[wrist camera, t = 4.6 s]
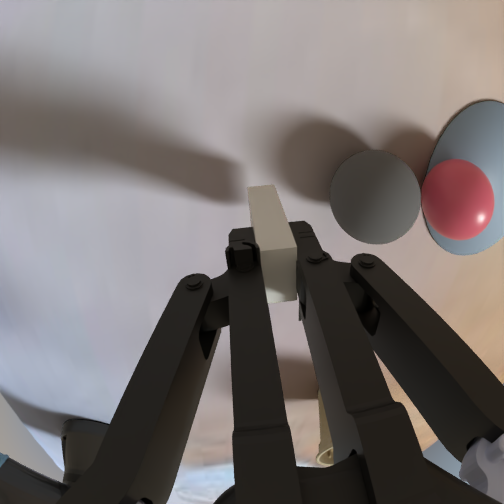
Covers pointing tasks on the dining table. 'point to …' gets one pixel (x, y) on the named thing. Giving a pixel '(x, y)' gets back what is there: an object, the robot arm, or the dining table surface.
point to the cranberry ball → (457, 199)
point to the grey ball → (375, 197)
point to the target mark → (483, 156)
